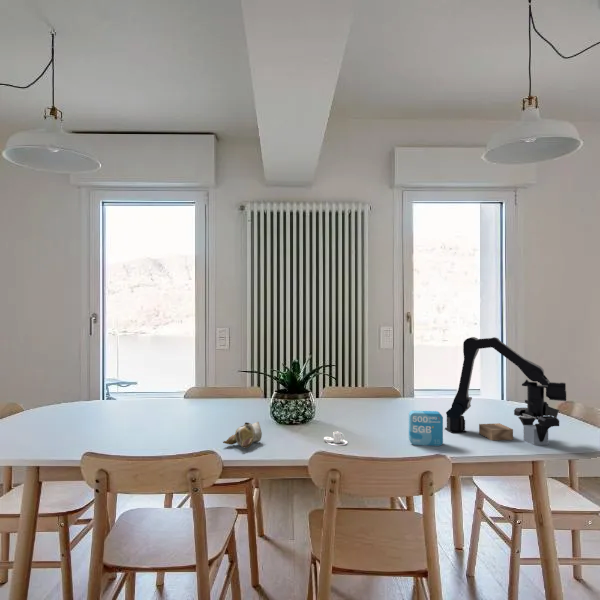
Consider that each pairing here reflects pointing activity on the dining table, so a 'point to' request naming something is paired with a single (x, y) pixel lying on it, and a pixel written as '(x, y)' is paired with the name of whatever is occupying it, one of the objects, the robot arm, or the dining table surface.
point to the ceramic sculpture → (246, 435)
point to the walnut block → (496, 431)
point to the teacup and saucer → (335, 438)
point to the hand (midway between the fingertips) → (535, 439)
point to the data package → (425, 428)
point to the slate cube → (533, 435)
